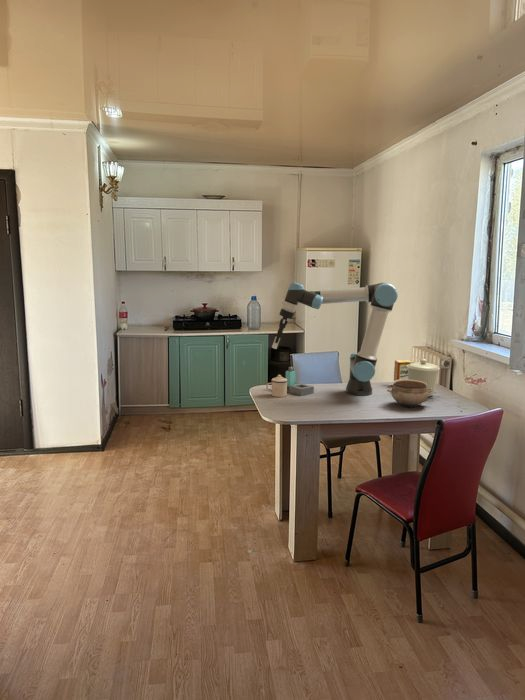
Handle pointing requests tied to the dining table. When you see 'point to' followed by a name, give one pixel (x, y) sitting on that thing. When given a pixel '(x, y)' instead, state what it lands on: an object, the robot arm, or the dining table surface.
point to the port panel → (301, 389)
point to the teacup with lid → (278, 386)
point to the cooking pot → (409, 392)
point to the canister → (424, 373)
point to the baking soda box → (401, 369)
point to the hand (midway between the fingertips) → (274, 346)
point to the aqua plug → (290, 376)
